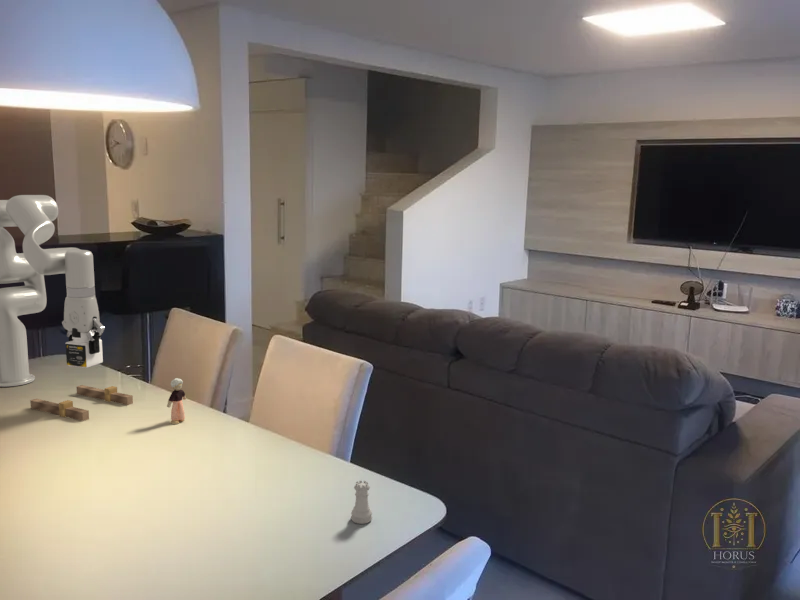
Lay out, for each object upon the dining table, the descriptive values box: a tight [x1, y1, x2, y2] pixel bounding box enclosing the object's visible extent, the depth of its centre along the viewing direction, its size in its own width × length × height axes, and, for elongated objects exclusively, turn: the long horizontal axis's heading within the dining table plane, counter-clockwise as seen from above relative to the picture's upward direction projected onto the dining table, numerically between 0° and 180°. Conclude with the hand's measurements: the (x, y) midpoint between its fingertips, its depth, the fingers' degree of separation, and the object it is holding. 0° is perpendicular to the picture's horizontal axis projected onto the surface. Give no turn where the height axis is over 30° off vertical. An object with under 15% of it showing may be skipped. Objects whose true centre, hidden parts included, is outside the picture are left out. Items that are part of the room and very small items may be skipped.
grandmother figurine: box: [166, 377, 187, 425], centre depth 195 cm, size 8×4×13 cm, turn 171°
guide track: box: [30, 384, 134, 422], centre depth 207 cm, size 22×19×4 cm
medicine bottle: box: [65, 328, 104, 369], centre depth 203 cm, size 7×7×12 cm
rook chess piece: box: [350, 479, 373, 525], centre depth 141 cm, size 4×4×8 cm
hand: (84, 351), depth 204 cm, fingers closed on medicine bottle, 7 cm apart
